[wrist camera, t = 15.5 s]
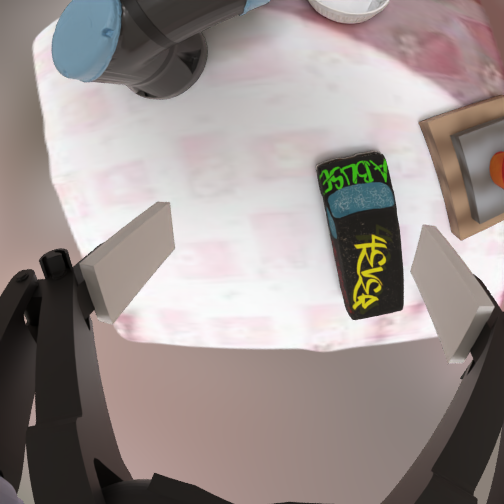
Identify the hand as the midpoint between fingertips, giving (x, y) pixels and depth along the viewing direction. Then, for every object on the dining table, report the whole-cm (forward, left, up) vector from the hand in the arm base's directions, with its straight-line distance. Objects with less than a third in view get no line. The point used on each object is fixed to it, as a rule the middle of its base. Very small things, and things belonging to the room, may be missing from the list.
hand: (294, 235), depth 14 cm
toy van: (+14, +4, -33) cm, 36 cm away
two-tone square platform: (+11, +30, -33) cm, 46 cm away
